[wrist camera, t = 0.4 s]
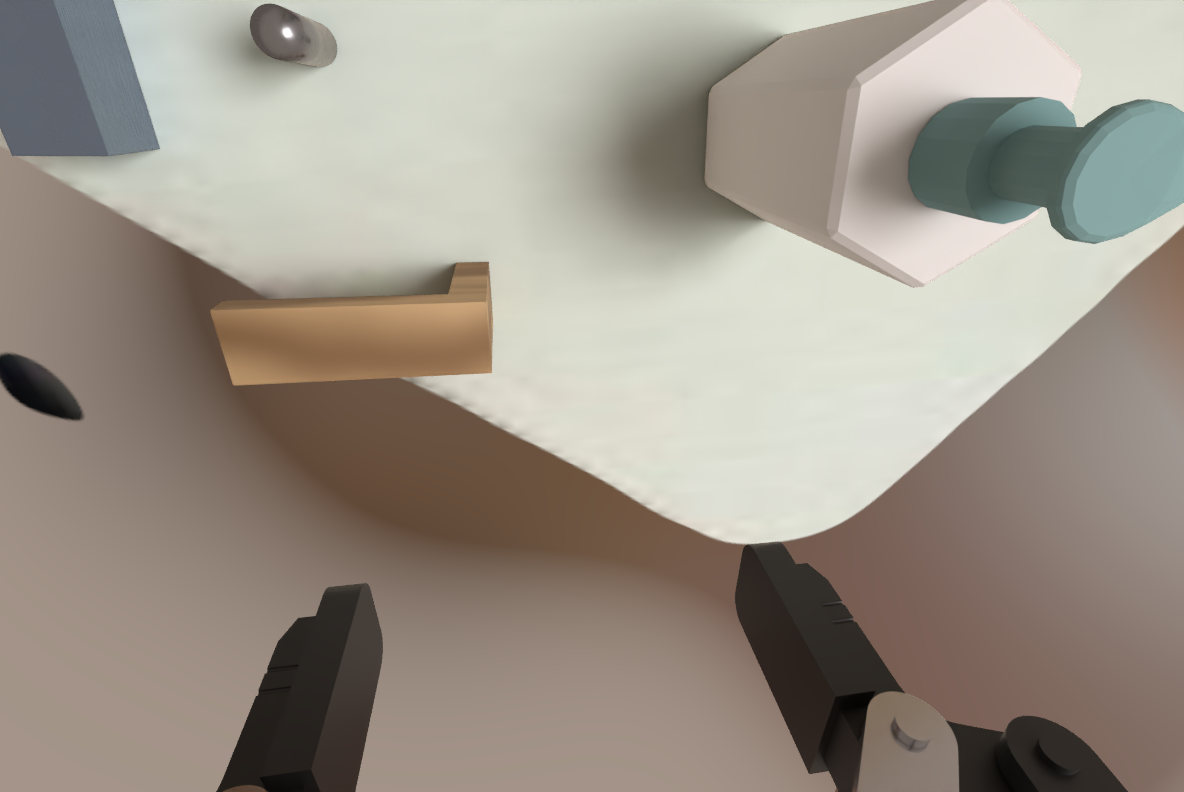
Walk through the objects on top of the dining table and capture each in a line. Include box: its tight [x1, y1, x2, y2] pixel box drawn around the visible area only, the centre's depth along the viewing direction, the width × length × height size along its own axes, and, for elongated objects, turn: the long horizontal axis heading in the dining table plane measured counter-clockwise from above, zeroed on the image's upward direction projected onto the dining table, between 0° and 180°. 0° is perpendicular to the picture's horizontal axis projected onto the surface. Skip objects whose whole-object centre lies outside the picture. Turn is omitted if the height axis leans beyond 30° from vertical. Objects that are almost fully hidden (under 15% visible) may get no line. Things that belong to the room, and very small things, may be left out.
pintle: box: [250, 4, 337, 67], centre depth 26 cm, size 2×2×6 cm
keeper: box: [210, 262, 493, 385], centre depth 32 cm, size 4×13×8 cm, turn 89°
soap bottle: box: [705, 0, 1184, 288], centre depth 25 cm, size 10×9×22 cm
